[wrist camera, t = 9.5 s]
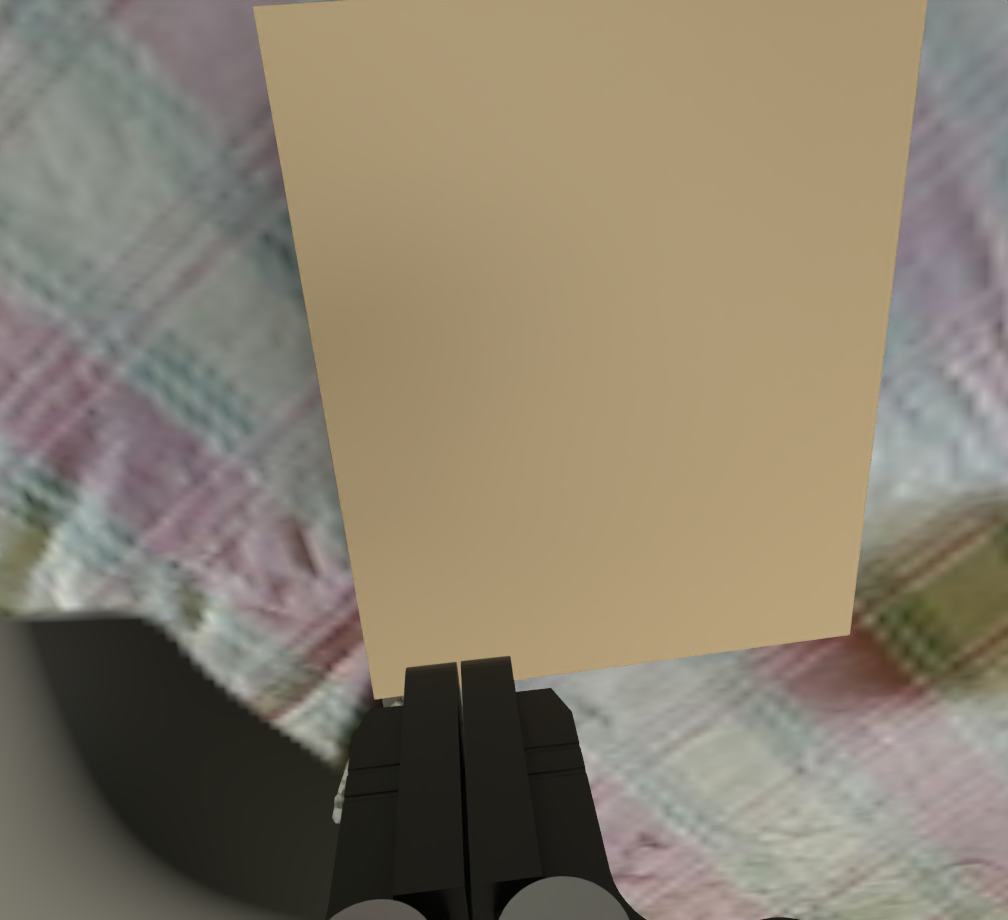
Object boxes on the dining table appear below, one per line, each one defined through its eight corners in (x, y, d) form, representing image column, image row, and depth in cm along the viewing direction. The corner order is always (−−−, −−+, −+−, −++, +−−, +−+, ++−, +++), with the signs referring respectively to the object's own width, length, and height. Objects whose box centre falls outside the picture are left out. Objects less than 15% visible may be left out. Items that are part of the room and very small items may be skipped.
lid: (258, 11, 20) (252, 6, 20) (914, -32, 22) (932, -38, 21) (375, 685, 29) (374, 699, 28) (838, 622, 30) (849, 634, 30)
